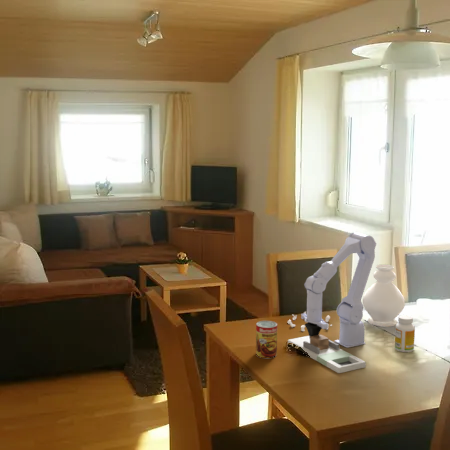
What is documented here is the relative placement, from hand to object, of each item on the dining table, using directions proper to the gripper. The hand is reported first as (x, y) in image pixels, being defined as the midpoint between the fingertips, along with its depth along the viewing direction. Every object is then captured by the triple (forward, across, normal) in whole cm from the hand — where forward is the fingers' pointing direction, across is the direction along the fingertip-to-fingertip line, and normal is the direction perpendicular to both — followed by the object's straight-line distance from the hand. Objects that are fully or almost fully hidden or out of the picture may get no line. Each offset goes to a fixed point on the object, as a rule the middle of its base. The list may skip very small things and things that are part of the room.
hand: (313, 341), depth 244 cm
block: (+1, +4, 0) cm, 4 cm away
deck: (+3, +7, 0) cm, 8 cm away
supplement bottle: (+3, +16, +31) cm, 35 cm away
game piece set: (+4, -25, +16) cm, 30 cm away
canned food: (+3, -4, -19) cm, 20 cm away
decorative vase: (+3, -13, +46) cm, 48 cm away
